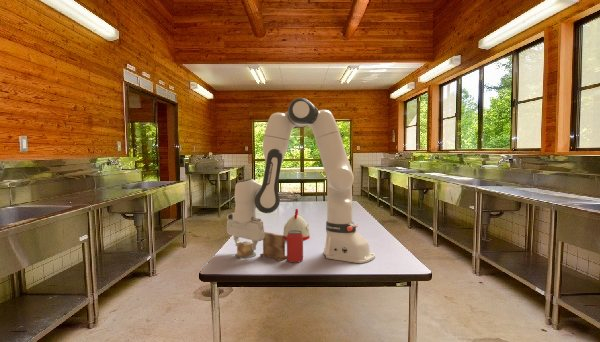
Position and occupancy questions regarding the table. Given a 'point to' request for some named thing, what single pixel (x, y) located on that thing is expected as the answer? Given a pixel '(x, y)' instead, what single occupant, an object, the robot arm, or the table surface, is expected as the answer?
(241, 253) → the letter cube
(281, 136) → the robot arm
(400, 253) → the table surface
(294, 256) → the beer can
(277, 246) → the screen
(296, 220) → the kitchen timer
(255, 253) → the slate mat
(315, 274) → the table surface
